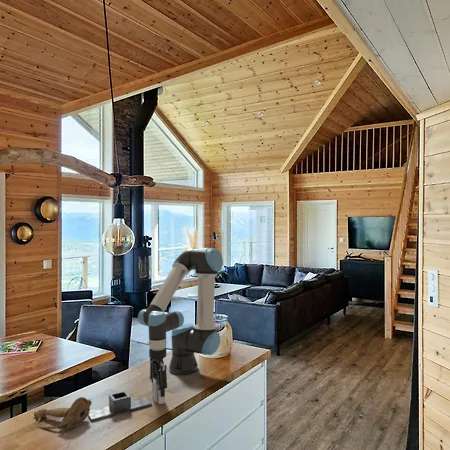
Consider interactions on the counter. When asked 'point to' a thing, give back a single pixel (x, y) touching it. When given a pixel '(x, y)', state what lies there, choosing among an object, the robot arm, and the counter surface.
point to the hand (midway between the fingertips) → (158, 400)
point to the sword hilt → (67, 414)
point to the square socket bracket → (118, 406)
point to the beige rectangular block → (155, 389)
